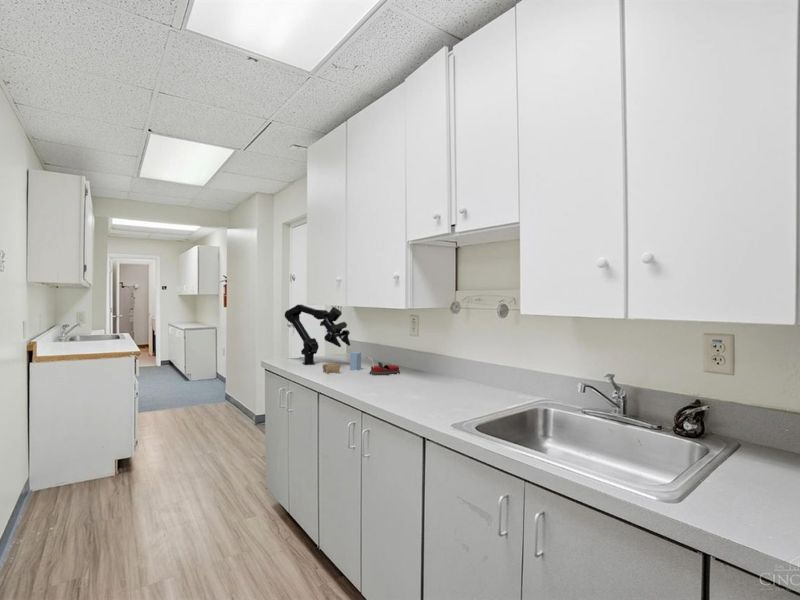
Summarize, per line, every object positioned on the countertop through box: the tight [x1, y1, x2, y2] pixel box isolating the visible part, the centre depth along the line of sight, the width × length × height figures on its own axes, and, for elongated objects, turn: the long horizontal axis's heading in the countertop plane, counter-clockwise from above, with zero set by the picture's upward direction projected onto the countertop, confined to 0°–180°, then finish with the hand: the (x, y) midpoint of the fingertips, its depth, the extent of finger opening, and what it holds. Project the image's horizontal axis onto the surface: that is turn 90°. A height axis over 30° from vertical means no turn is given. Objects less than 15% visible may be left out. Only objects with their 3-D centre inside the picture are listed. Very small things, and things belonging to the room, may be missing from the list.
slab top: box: [322, 362, 341, 370], centre depth 235 cm, size 7×7×2 cm
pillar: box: [349, 351, 362, 371], centre depth 246 cm, size 4×4×10 cm
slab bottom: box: [322, 368, 340, 375], centre depth 235 cm, size 7×7×2 cm
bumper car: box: [366, 356, 401, 376], centre depth 236 cm, size 10×20×10 cm, turn 118°
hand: (345, 346), depth 250 cm, fingers open, 9 cm apart
